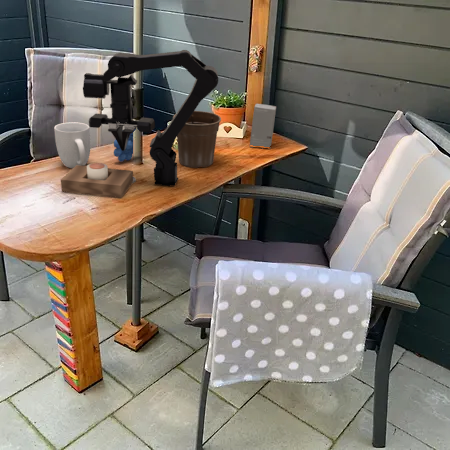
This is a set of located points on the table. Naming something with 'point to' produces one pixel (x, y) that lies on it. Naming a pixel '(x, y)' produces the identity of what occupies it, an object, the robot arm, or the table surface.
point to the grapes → (127, 152)
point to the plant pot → (198, 139)
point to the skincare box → (262, 125)
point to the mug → (73, 143)
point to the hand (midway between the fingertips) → (123, 150)
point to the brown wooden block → (97, 182)
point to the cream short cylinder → (97, 171)
